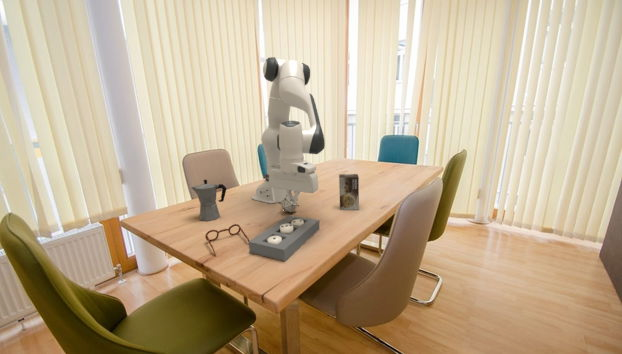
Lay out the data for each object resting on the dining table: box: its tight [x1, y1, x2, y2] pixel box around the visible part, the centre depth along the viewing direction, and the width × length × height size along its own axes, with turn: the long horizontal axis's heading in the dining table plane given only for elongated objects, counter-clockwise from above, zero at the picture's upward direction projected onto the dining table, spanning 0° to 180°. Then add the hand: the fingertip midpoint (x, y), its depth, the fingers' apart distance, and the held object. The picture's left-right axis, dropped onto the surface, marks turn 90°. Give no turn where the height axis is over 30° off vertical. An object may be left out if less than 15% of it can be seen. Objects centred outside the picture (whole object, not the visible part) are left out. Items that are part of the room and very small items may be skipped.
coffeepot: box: [191, 179, 227, 222], centre depth 122 cm, size 15×9×18 cm, turn 92°
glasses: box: [204, 223, 250, 257], centre depth 97 cm, size 13×13×5 cm
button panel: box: [248, 214, 320, 262], centre depth 99 cm, size 14×26×4 cm, turn 154°
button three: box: [280, 223, 293, 235], centre depth 98 cm, size 5×5×4 cm
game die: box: [278, 195, 300, 215], centre depth 126 cm, size 9×8×10 cm
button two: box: [291, 219, 304, 226], centre depth 106 cm, size 5×5×4 cm
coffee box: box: [338, 173, 360, 211], centre depth 129 cm, size 9×6×16 cm
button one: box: [267, 236, 282, 245], centre depth 92 cm, size 5×5×4 cm
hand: (293, 201), depth 103 cm, fingers closed
